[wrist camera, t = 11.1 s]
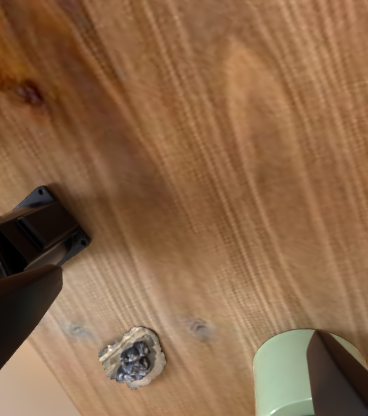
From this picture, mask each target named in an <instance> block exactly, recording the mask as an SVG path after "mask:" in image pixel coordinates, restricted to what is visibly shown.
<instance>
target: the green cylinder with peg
mask: <svg viewBox="0 0 368 416" xmlns="http://www.w3.org/2000/svg"><path fill="white" fill-rule="evenodd" d="M314 331H315V330H312V329H298V330H291V331H287V332H283V333H280V334H278V335H276V336H274V337H272V338H270V339H269V340H267V341H266V342H265V343H264V344H263V345H262V346H261V347H260V348H259V349H258V351H257V353H256V355H255V357H254V360H253V382H254V398H255V414H256V416H308V415H315V414H314V409H313V403H312V396H311V388H310V381H309V373H308V365H307V357H306V351H307V347H308V344H309V342H310V339H311V337H312V334H313V332H314ZM330 334H331V335H332V336H333V337H334V338H335V339H336V340H337V341H338V342H339V343H340V344H341V345H342V346H343V347H344V348H345V349H347V350H348V351H349V352H350V353H351V354H352V355H353V356H354V357H355V358H356V359H357V360H358V361H359V362H360V363H361V364H362V365H363V366H364V367H365V368H366V369H367V370H368V365H367V363H366V361H365V359H364V357H363V356H362V354H361V353H360V352H359V351H358V349H356V348H355V347H354V346H353V345H352V344H351V343H349V342H348V341H346V340H345V339H343V338H341V337H339V336H337V335H334V334H332V333H330Z"/></svg>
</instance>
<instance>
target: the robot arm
mask: <svg viewBox="0 0 368 416" xmlns="http://www.w3.org/2000/svg"><path fill="white" fill-rule="evenodd" d="M42 190H43V191H44V193H43V192H42ZM83 240H85V241H86V243H85V242H84V241H83ZM90 243H91V239H90V237H89V236H88V235H87V234H86V233H85V231H84V230H83V229H82V228H81V227H80V225H79V224H78V223H77V222H76V221H75V220H74V218H73V217H72V216H71V215H70V214H69V212H68V211H67V210H66V209H65V208H64V206H63V205H62V204H61V203H60V202H59V200H58V199H57V198H56V197H55V196H54V194H53V193H52V192H51V191H50V190H49V188H48V187H47V186H44V185H42V186H39V187H37V188H36V189H35V190H34V191H33V192H32V193H31V194H30V195H29V196H28V197H26V198H25V199H24V200H23V201H22V202H21V203H20V204H19V205H18V206H17V207H16V208H15V209H14V210H13V211H11V212H8V213H6V214H3V215H1V216H0V370H1V368H2V367H3V366H4V365H5V363H6V362H7V361H8V360H9V359H10V358H11V356H12V355H13V354H14V353H15V351H16V350H17V349H18V348H19V347H20V345H21V344H22V343H23V342H24V341H25V340H26V338H27V337H28V336H29V335H30V334H31V332H32V331H33V330H34V329H35V327H36V326H37V325H38V323H39V322H40V320H41V319H42V318H43V316H44V315H45V313H46V312H47V310H48V309H49V307H50V306H51V304H52V303H53V302H54V300H55V299H56V297H57V296H58V294H59V293H60V291H61V289H62V285H63V279H62V267H61V265H62V264H64V263H65V262H66V261H68V260H69V259H71V258H72V257H73V256H75V255H76V254H77V253H79V252H80V251H82V250H83V249H84V248H86V247H87V246H88V245H89V244H90ZM306 357H307V365H308V373H309V381H310V388H311V396H312V403H313V409H314V414H315V416H368V370H367V369H366V368H365V367H364V366H363V365H362V364H361V363H360V362H359V361H358V360H357V359H356V358H355V357H354V356H353V355H352V354H351V353H350V352H349V351H348V350H347V349H345V348H344V347H343V346H342V345H341V344H340V343H339V342H338V341H337V340H336V339H335V338H334V337H333V336H332V335H331V334H330V333H329V332H325V331H321V330H315V331H314V332H313V334H312V337H311V339H310V342H309V344H308V347H307V351H306Z"/></svg>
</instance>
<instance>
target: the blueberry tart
mask: <svg viewBox="0 0 368 416" xmlns="http://www.w3.org/2000/svg"><path fill="white" fill-rule="evenodd" d="M154 334H155V333H154V332H153V331H150V329H147V328H146V329H145V328H143V327H139V328H138V327H137V328H135V327H134V328H132V329H131V333H130V332H129V333H127V334H125V335H124V334H123V336H124V337H123V340H122V341H121V342H120V343H118V342H117V340H116V342H115V343H117V344H115V345H112V346H111V345H108V347H109V348H107V349H104V350H100V352H99V355H98V356H99V360H100V362H101V363H102V365H104V367H105V368H104V370H107V372H106V373H107V377H109V378H110V379H111V380H112V379H116V382H117V383H127V386H128V387H130V388H131V390H134V389H135V390H136V389H137V387H142V386H145V385H147V384H150V380H152V379H154V380H155V377H156V376H158V375H159V374H160V373H161V372H162V369H163V368H164V365H165V364H166V363H167V362H166V360H165V358H164V357H165V355H164V353H163V352H160V351H161V350H160V349H162V348H160V347H159V346H160V344H159V342H158V338H157V336H155V335H154Z"/></svg>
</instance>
